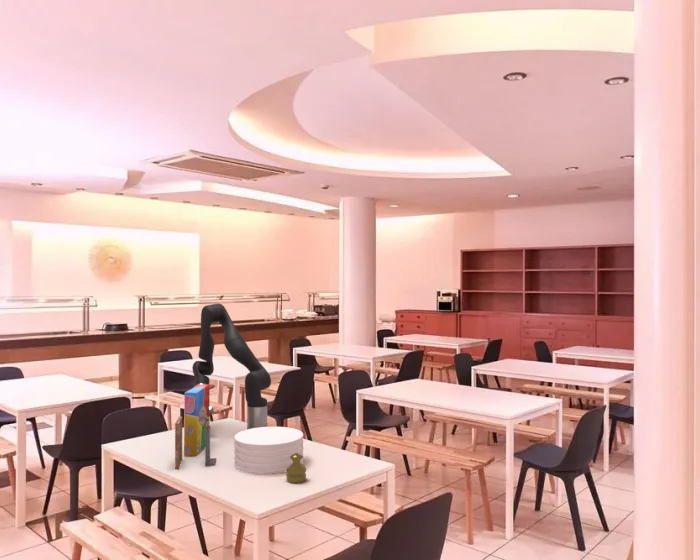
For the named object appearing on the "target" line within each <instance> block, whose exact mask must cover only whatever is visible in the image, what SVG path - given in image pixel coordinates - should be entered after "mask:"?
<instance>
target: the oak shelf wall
mask: <svg viewBox="0 0 700 560" xmlns="http://www.w3.org/2000/svg"><path fill="white" fill-rule="evenodd" d="M174 427H175V428H174V430H175V431H174V469H175V470H179V469H180V467H181V465H180V464H182V462H183V416H178V417H177V419H176V420H175V424H174ZM181 461H182V462H181Z"/></svg>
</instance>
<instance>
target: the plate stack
mask: <svg viewBox="0 0 700 560" xmlns="http://www.w3.org/2000/svg"><path fill="white" fill-rule="evenodd" d="M233 440H234V444H233V445H234V447H233V448H234V450H233V451H234V455H233V456H234V457H233V459H234V464H233V465H234V468H235V469H236V470H238V471H240V472H243V473H247V474H255V475H273V474H272V473H275V474H280V473H279V472H282V473H286V472H285V471H286V469H287V467H289V466H290V465H291V464H292V463H293V461H292V459H290V455H292V454H294V453H299V454H301V455H303V456H304V433H303V432H302V431H301V430H299V429H296V428H292V427H288V426H287V427H286V426H268V427H259V428H252V429H248V430H247V429H245V430H244V429H243V430H241V431H239V432H237V433H236V434H235V435H234V436H233ZM300 463H301V464H302V463H303V464H304V457H303V458H302V459H301V460H300ZM303 464H302V465H303Z"/></svg>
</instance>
